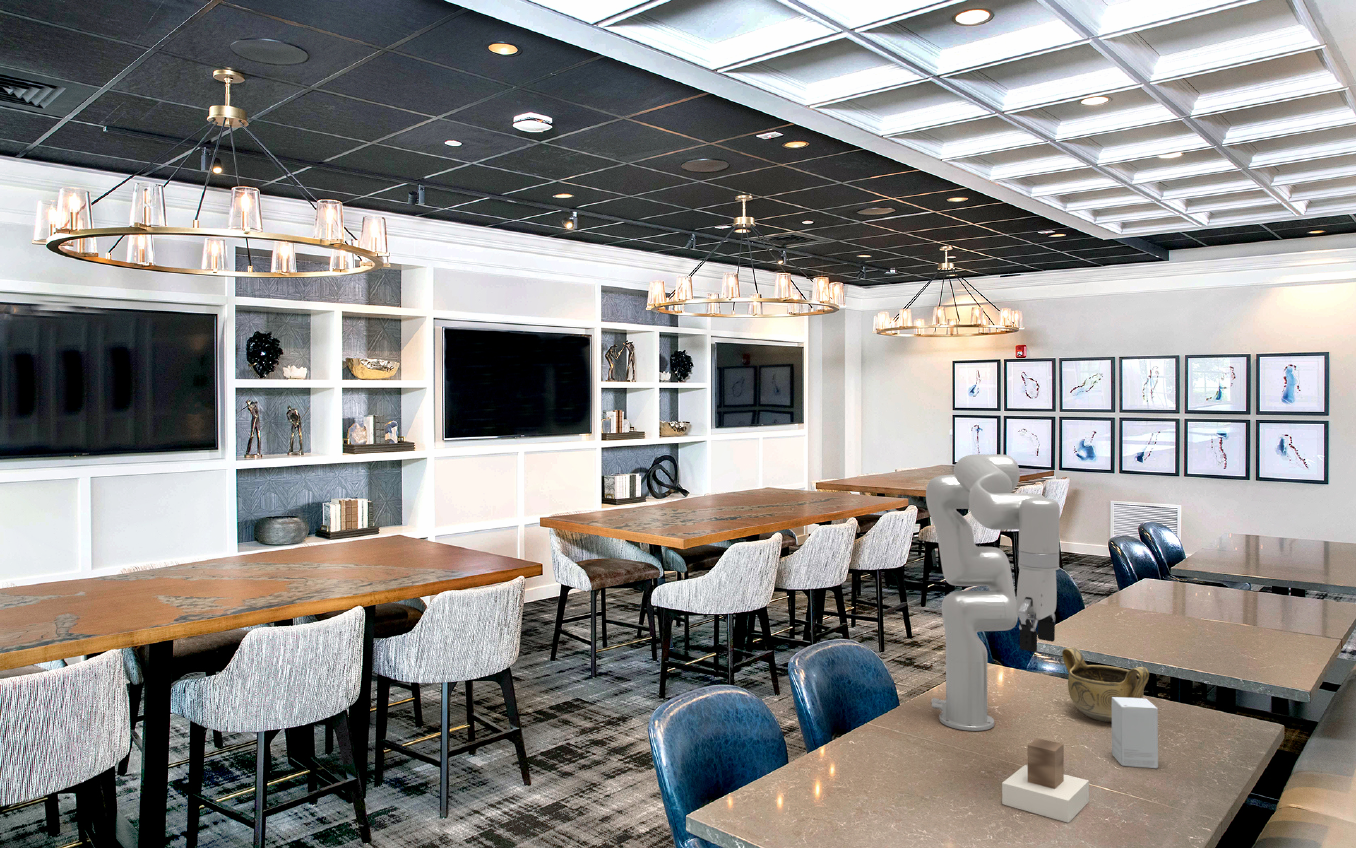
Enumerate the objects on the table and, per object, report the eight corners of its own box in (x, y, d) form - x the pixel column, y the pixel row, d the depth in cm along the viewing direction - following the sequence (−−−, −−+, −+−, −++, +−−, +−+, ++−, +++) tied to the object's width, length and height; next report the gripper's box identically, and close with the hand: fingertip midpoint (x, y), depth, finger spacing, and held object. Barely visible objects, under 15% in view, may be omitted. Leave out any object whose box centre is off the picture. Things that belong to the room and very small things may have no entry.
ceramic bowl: (1043, 709, 223) (1043, 650, 223) (1090, 700, 230) (1089, 642, 230) (1122, 737, 203) (1121, 672, 203) (1170, 726, 210) (1170, 663, 210)
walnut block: (1027, 782, 167) (1027, 745, 167) (1036, 774, 171) (1036, 738, 171) (1054, 789, 164) (1054, 751, 164) (1063, 781, 168) (1063, 744, 168)
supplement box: (1159, 769, 184) (1158, 708, 184) (1120, 766, 185) (1120, 706, 185) (1147, 756, 191) (1147, 697, 191) (1110, 753, 193) (1110, 695, 193)
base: (1002, 804, 167) (1002, 783, 167) (1025, 784, 176) (1025, 764, 176) (1068, 823, 159) (1068, 800, 159) (1089, 801, 168) (1088, 780, 168)
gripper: (1035, 552, 185) (1034, 633, 186) (1002, 563, 172) (1001, 650, 173) (1072, 556, 180) (1071, 640, 181) (1042, 569, 167) (1040, 658, 168)
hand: (1037, 645), depth 177 cm, fingers open, 9 cm apart
